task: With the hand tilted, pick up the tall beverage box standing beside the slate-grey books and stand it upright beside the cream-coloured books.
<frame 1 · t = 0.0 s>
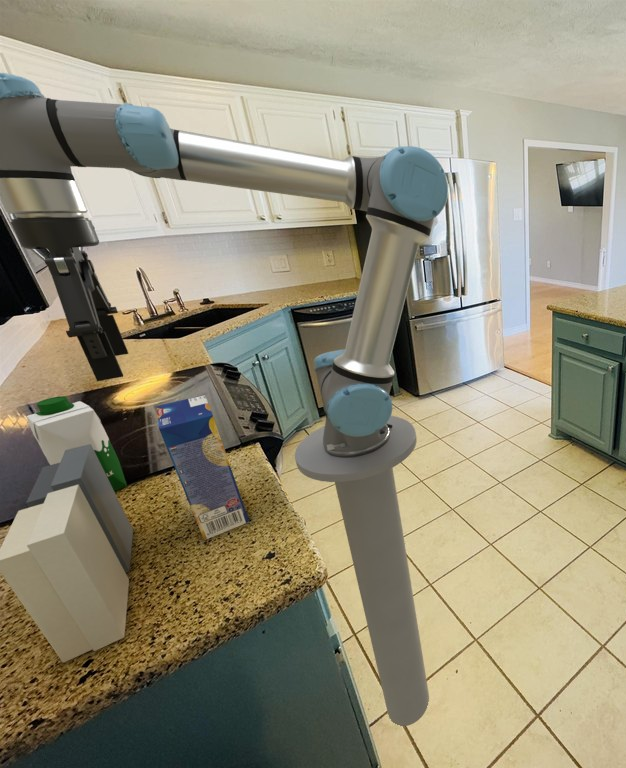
hand: (114, 366, 62), 31 cm above the countertop, tool pointing down, fingers open, 13 cm apart
milk carton: (100, 490, 84), on the countertop
beverage box: (223, 516, 76), on the countertop
grey books: (107, 558, 67), on the countertop
cream books: (98, 618, 57), on the countertop
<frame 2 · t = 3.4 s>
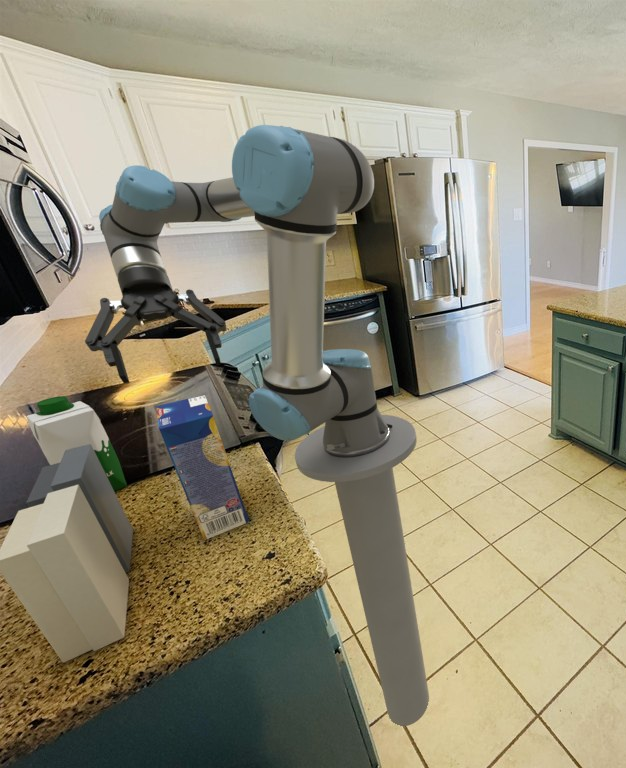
hand: (173, 370, 74), 26 cm above the countertop, tool tilted 45°, fingers open, 13 cm apart
nothing on the countertop moved.
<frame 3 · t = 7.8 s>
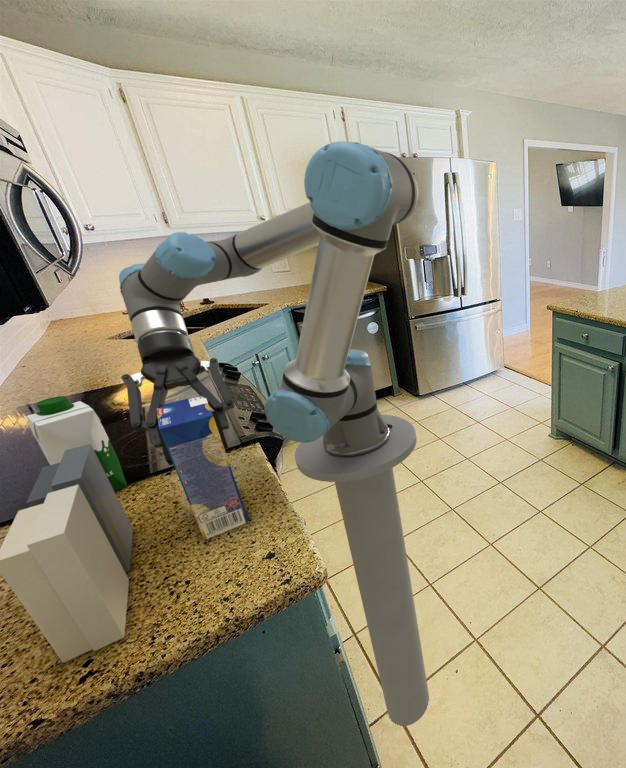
hand: (198, 454, 69), 14 cm above the countertop, tool tilted 45°, fingers closed on beverage box, 7 cm apart
beverage box: (223, 516, 76), on the countertop, touching gripper
everything else where it was.
when the fingers open (14 cm above the countertop, at t = 14.1 s): beverage box stays where it is, on the countertop.
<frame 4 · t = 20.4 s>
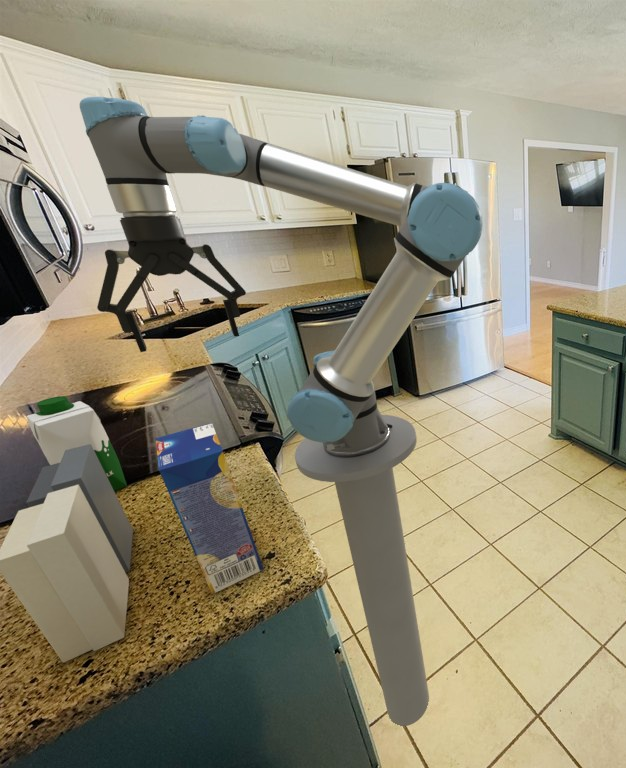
hand: (192, 342, 74), 31 cm above the countertop, tool pointing down, fingers open, 13 cm apart
beverage box: (233, 561, 66), on the countertop
everything else where it was.
at the end: beverage box inside the target area (0.0 cm from its centre), on the countertop; beverage box tilted 0°; the gripper is holding nothing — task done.
